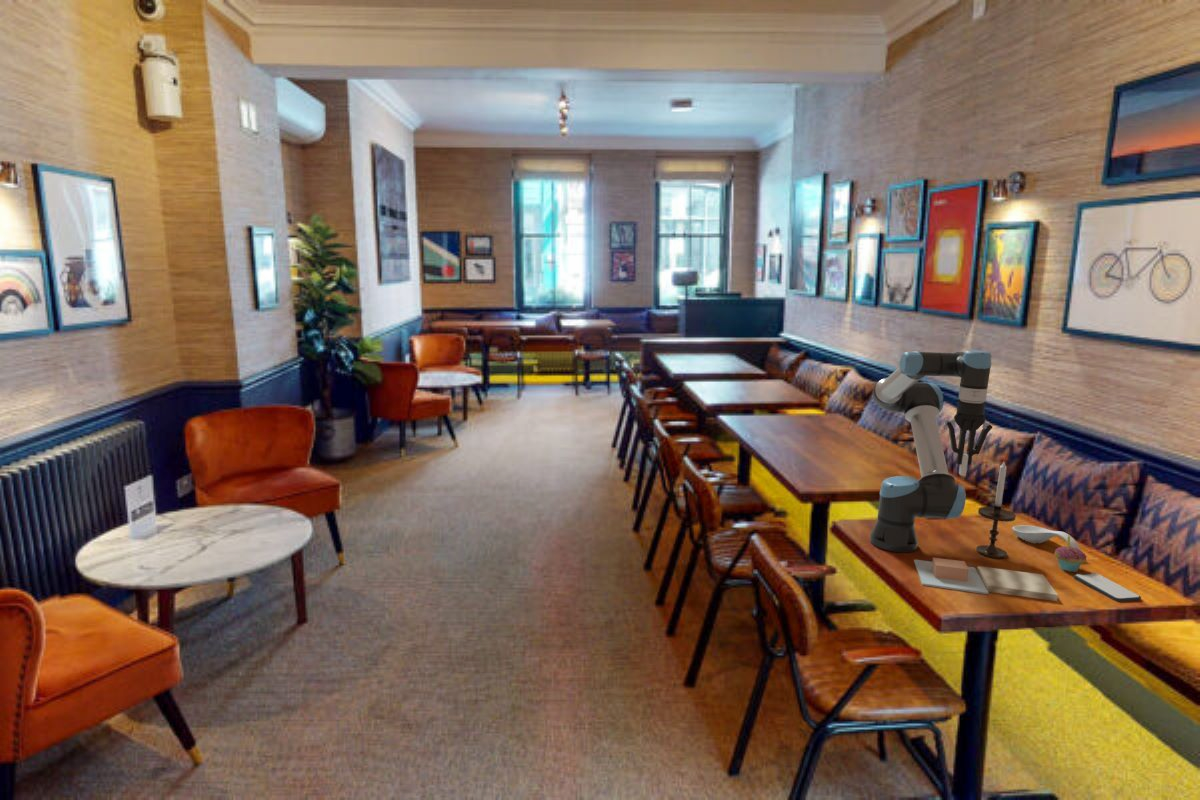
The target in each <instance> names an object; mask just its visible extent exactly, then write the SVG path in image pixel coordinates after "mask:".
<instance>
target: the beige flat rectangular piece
mask: <svg viewBox="0 0 1200 800" xmlns="http://www.w3.org/2000/svg"><path fill="white" fill-rule="evenodd" d="M976 568H977V569H976V570H977V572H978V574H979V576H980V578H981V580H982V582H983V583H984V585H985V587H986V589H987V591H988V593H994V594H1003V595H1009V596H1010V595H1011V596H1016V597H1017V596H1018V597H1023V598H1030V599H1036V600H1037V599H1039V600H1045V601H1051V602H1052V601H1053V602H1058V598H1059V594H1058V593H1057V591H1056V590H1055V589H1054V587H1053V586H1052V585H1051V584H1050V583H1049V581H1048V579H1047V578H1046V576H1044V574H1043V573H1042V574H1040V573H1034V572H1033V573H1032V572H1028V571H1019V570H1012V569H1011V570H1010V569H1004V568H995V567H989V566H988V567H987V566H981V565H980V566H979V565H978V566H977V567H976Z"/></svg>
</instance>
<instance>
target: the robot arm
mask: <svg viewBox="0 0 1200 800" xmlns="http://www.w3.org/2000/svg"><path fill="white" fill-rule="evenodd" d="M900 356H901V357H899V358H900V360H899V367H897V368H896V369H895V370H894V371H893V372H891V374H890V375H888V377H884V378H882V379H880V380H879V381H877V383H876V384H875V385H874V387H873V389H872V398H873V401H874V402H875V403H876V405H877V406H878V407H880V409H883V410H884V411H887V412H890V413H901V414H904V418H905V420H906V421H908V422H909V423H910V426H911V430H912V435H913V436H912V437H913V441H914V447H915V450H916V456H917V461H918V466H919V471H920V476H921V477H920V478H919V479H917V478H915V477H912V476H905V475H896V476H890V477H888V478H887V477H886V478H885V479H883V481H882V482H881V485H880V490H879V500H878V511H877V520H876V522H875V524H874V525H873V528H872V529H871V532H870V534H869V542H870V543H871V545H874V546H875V547H876V548H879V549H882V550H885V551H889V552H893V553H894V552H895V553H911V552H915V551H916V550H917V549H918V545H919V543H918V538H917V537H918V536H917V534H916V529H915V519H916V518H929V519H942V520H946V519H949V520H950V519H953V520H954V519H958V518H960V516H961V515H962V513H963V511H964V509H965V506H966V499H967V495H966V489H965V487H964V486H963V485H962V484H959V483H956V479H955V478H956V477H955V476H953V475H952V474H951V473H949V471H948V465H947V461H946V457H945V452H944V448H943V444H942V439H941V435H940V434H941V433H940V430H939V425H938V420H937V418H938V417H939V416H940V413H941V411H942V410H943V408H944V395H943V392H942V390H941V388H940V387H939V385H938V384H935V383H934V382H926V381H921V382H919V381H920V380H922V379H923V378H925V377H926V376H928V377H930V376H931V377H957V378H960V381H959V382H960V383H959V389H958V390H959V392H958V396H957V397H958V399H959V400H957V405H956V406H957V407H956V413H955V414H954V416H953V418H952V419H950V420H946V421H945V424H946V426H947V428H948V432H949V433H948V434H949V440H950V447H951V450H952V452H953V453H956V454H957V457H956V464H957V465H959V467H958V474H959V475H960V476H961V477H966V476H967V469H968V466H971V465H972V459H973V456H974V455H979V454H980V452H981V450H982V448H983V446H984V443H985V440H986V438H987V436H988V433H990V431H991V430H992V429H993V426H992V424H990V423H988V422H987V421H986V418H985V410H986V403H985V402H986V401H987V394H988V388H989V380H990V375H991V367H992V353H991V352H990V351H987V350H980V349H968V350H965V351H964V352H963V351H953V352H936V351H935V352H934V351H933V352H932V351H931V352H930V351H914V350H913V351H905V352H903V353H902V354H901V355H900ZM956 425H957V426H958V428H959V437H958V439H959V440H958V443H957V438H956V431H955V428H954V427H955V426H956ZM981 427H982V429H981V431H980V433H979V435H978V437H977V438H978V439H977V441H976V442H975V440H976V439H975V438H976V434H977V430H978V429H980V428H981ZM967 432H968V440H967V447H966V453H964V450H965V445H966V439H967V438H966V437H967V436H966V435H967ZM975 443H976V444H975ZM957 444H958V445H957Z"/></svg>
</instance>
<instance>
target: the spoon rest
mask: <svg viewBox="0 0 1200 800" xmlns="http://www.w3.org/2000/svg"><path fill="white" fill-rule="evenodd" d="M1011 529H1012V531H1013V533H1014V534H1015V535H1016V536H1017V537H1019V538H1020V539H1021V540H1023V541H1024V540H1025V541H1024V542H1027V541H1028V542H1027V543H1030V542H1031V544H1036V543H1039V544H1043V543H1044V542H1047V541H1049V540H1050V539H1052V538H1054V537H1059V538H1061V539H1062V540H1064V542H1066V544H1067V542H1068V534H1069V533H1067V532H1064V531H1061V530H1060V531H1059V530H1051V529H1048V528H1045V527H1041V526H1037V525H1028V524H1026V525H1025V524H1023V525H1022V524H1020V525H1014V526H1012V528H1011ZM1069 536H1070V546H1071V547H1075V548H1077V549H1079V550H1081V548H1080V546H1079V544H1078V542H1077V540H1075V538H1073V537H1072V536H1071V535H1070V534H1069Z"/></svg>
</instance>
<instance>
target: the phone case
mask: <svg viewBox="0 0 1200 800" xmlns="http://www.w3.org/2000/svg"><path fill="white" fill-rule="evenodd" d="M1073 579H1074V580H1076V581H1077V582H1079V583H1081V584H1083V585H1084V586H1086V587H1088V588H1090V589H1091V590H1094V591H1096V592H1098V593H1099V594H1101V595H1104V596H1105V597H1107V598H1109V599H1110V600H1112V601H1115V602H1119V603H1124V602H1125V603H1126V602H1140V601H1141V600H1142V597H1141V596H1140V595H1139V594H1137V593H1135V592H1133V591H1131V590H1130V589H1127V588H1126V587H1124V586H1122V585H1120V584H1118V583H1116V582H1115V581H1113V580H1111V579H1109V578H1108V577H1105V576H1104V575H1101V574H1099V573H1097V572H1088V573H1087V572H1086V573H1075V574H1074V575H1073Z"/></svg>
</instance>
